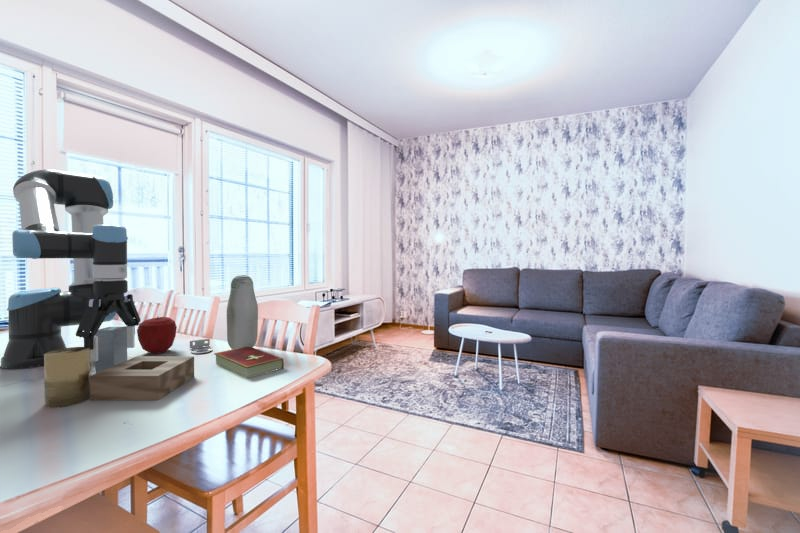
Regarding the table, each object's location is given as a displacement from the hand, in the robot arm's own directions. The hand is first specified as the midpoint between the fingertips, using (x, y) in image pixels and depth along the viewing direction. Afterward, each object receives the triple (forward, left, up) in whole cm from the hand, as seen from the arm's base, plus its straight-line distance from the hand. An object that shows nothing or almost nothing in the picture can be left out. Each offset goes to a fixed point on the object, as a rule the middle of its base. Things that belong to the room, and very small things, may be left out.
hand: (111, 353), depth 99 cm
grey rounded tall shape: (-27, +26, -7) cm, 38 cm away
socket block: (+8, +15, -7) cm, 18 cm away
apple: (-25, -3, -7) cm, 26 cm away
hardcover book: (-10, +35, -7) cm, 37 cm away
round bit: (+16, +2, -7) cm, 17 cm away
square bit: (0, 0, -7) cm, 7 cm away
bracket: (-28, +11, -7) cm, 31 cm away
